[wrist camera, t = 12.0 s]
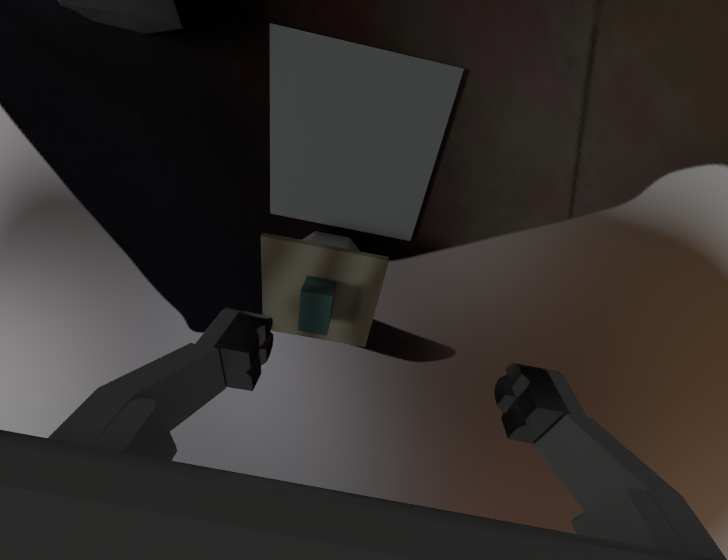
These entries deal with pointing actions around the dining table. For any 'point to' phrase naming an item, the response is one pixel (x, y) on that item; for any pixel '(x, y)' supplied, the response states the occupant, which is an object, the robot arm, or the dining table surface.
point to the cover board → (323, 265)
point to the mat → (353, 131)
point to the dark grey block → (129, 13)
